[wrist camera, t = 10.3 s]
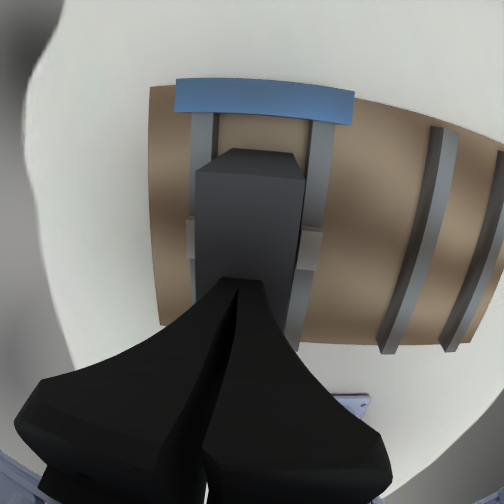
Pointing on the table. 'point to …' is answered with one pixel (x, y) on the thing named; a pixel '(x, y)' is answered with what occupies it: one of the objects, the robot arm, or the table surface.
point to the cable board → (340, 208)
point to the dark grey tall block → (249, 221)
